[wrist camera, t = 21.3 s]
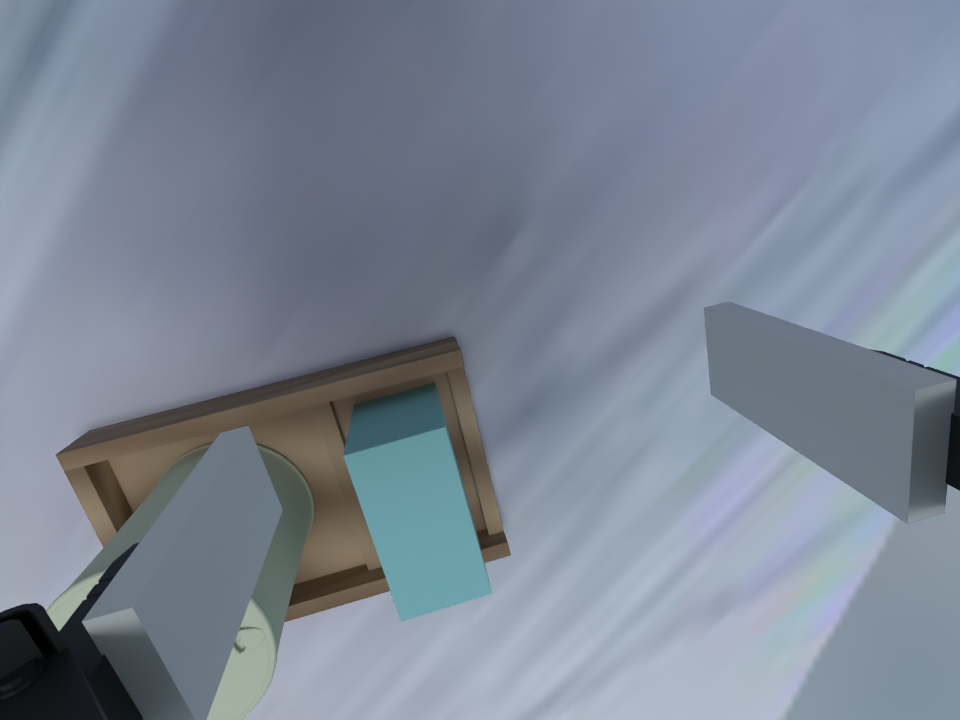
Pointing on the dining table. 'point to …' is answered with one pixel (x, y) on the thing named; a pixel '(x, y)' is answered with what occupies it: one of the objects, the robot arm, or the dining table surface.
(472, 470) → the cradle jig
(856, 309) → the dining table surface
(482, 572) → the wing block
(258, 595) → the can
